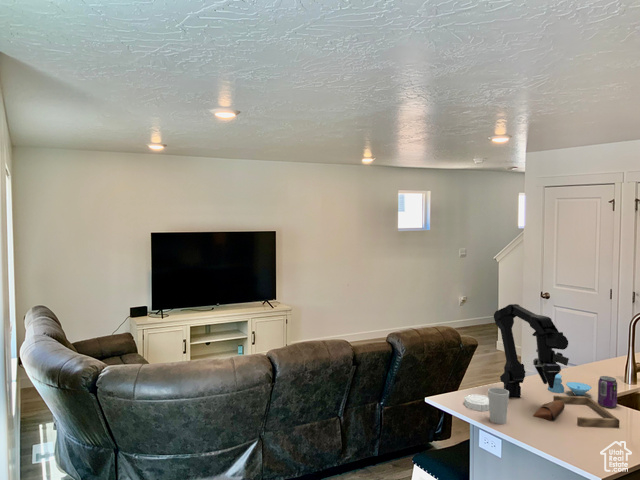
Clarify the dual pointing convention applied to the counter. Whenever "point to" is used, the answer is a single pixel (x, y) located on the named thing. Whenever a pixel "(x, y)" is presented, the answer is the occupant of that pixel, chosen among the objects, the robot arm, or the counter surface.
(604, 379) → the beverage can
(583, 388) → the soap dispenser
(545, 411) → the sunglasses case
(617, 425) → the corral
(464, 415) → the counter surface
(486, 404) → the mooncake
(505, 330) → the robot arm
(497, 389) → the cup
